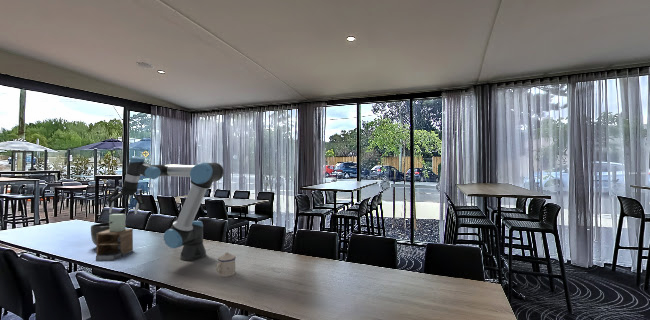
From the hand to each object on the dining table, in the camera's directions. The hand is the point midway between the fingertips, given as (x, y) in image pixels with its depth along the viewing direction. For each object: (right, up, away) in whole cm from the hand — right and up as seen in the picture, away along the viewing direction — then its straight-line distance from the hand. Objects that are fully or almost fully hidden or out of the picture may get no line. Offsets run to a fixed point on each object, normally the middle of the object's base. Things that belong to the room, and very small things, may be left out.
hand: (123, 212), depth 187 cm
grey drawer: (-11, -30, +3) cm, 32 cm away
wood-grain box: (-15, -30, +14) cm, 36 cm away
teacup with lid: (+73, -29, -26) cm, 83 cm away
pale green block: (-14, -15, +15) cm, 25 cm away
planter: (-34, -30, +31) cm, 55 cm away
